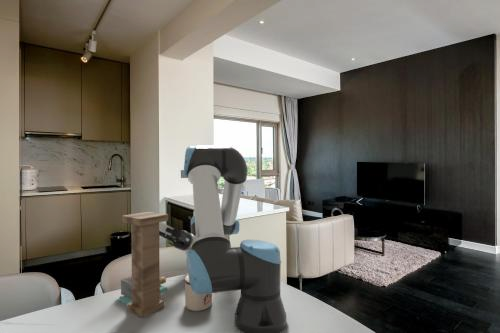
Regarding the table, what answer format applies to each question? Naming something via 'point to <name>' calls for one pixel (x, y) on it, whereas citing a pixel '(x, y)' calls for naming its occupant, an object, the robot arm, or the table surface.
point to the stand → (145, 262)
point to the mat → (128, 300)
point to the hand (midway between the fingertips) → (146, 223)
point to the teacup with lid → (196, 298)
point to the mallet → (127, 286)
